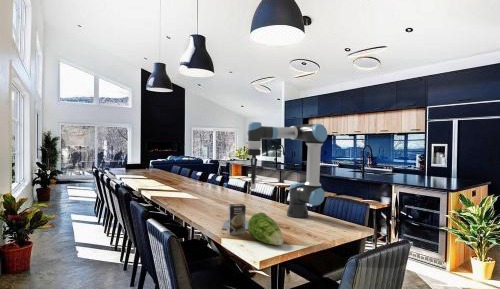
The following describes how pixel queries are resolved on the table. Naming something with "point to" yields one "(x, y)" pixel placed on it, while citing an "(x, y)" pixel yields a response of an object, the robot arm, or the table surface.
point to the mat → (225, 226)
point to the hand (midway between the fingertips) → (253, 189)
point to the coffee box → (236, 219)
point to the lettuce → (265, 229)
